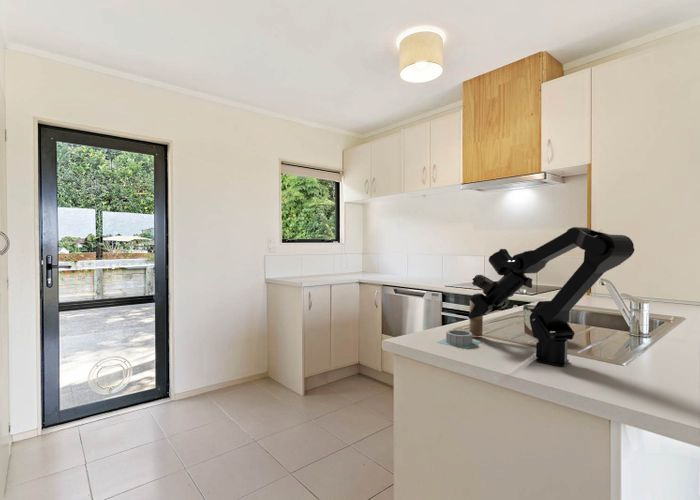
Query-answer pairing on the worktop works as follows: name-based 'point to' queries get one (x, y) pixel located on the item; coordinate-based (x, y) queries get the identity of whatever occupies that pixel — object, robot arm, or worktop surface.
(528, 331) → the food container
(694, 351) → the worktop surface
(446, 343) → the ring stand
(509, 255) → the robot arm
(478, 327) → the walnut peg
